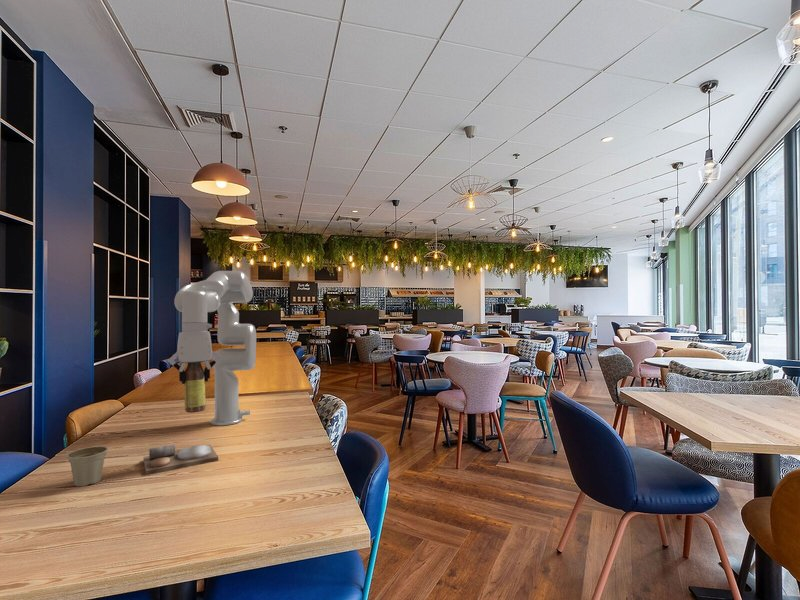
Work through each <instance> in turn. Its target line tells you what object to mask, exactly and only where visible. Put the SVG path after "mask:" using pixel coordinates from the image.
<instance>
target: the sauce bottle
mask: <svg viewBox="0 0 800 600" xmlns="http://www.w3.org/2000/svg"><path fill="white" fill-rule="evenodd" d="M184 371H185V383H184V384H183V386H184V389H183V390H184V391H183V392H184V408H185V409H184V411H185V412H186V413H188V414H189V413H191V414H192V413H200V412H203V411H205V409H206V404H207V402H206V381H205V373H204V369H203V366H202V362H192V363H187V366H186V367H185V369H184Z"/></svg>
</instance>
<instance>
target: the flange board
mask: <svg viewBox="0 0 800 600" xmlns="http://www.w3.org/2000/svg"><path fill="white" fill-rule="evenodd" d="M148 451H149V453H148V454H149V455H145V456H143V465H144V466H143V467H144V473H145V476H148V475H152V474H157V473H159V474H160V473H162V472H168V471H173V470H178V469H182V468H187V467H194V466H197V465H202V464H207V463H212V462H218V461H219V456H218V454H217V452H216V451H215V450H214V448H213V446H212V445H211V444H207V445H204V444H203V445H194V446H192V445H191V446H188V447H185V448H181V449H180V450H179V449H178V450H176V446H175V444H171V445H170V444H169V445H164V446H159V447H152V448H149V449H148Z"/></svg>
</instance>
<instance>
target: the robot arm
mask: <svg viewBox="0 0 800 600" xmlns="http://www.w3.org/2000/svg"><path fill="white" fill-rule="evenodd" d="M253 295H254V291H253V287H252V285H251V282H250V280H249V277H248V276H247V274H245V272H244V271H240V270H218V271H215V272H213V273H211V274H210V275H209V276H208V277H207V278H206V279H204V280H200V281H198V282H194V283H190V284H187V285H184V286H183V287H182V288H180V289H179V291H177V293H176V294H175V297H174V302H173V303H174V306H175V309H176V310H177V311H178V312H181V332H178V339H177V346H176V347H177V348H176V352H175V353H173V354H172V356H171V357H170V358H168V359H167V363H169V364H170V365H171V366H173V367H174V368H175V369H176V370H177V371H178V372H179V377H178V378H179V379H178V380H179V382H180V383H181V384H182V385H184V383H185V369H186V365H187V364H188V363H192V362H201V363H203V365H204V366H205V367H204V369H203V371H204V373H205V383H206V382H209V379H210V378H211V369H212V367H213V372H214V418H212V419H211V420H210V424H211V425H212V426H230V425H231V426H232V425H234V424H235V425H236V424H238V423H240V422H242V421H243V416H249V415H250V414H251V411H250V410H244V409H243V410H241V409H239V407H240V406H239V402H240V401H239V379H238V377H237V375H236V374H235V372H234V371H250V370H253V369H254V368H255V366H256V360H257V330H256V329H257V328H256V326H255V325H254V324H252V323H240V312H239V310H238V309H237V307H236V306H235V305H234V304H236V303H237V304H244V303H245V304H246V303H247V304H248V303H249V302H251V301H252V299H253ZM233 303H234V304H233ZM216 311H217V342H218V344H220V345H222V346H244V347H243V348H240V347H239V348H234V347H233V348H231V347H230V348H221V349H217V350H216V351H214V350H213V349H212V348H213V347H212V345H213V344H212V337H211V332H210V331H208V330H209V329H212V328H213V323H209V322H208V313H213V312H216ZM175 360H177V361H178V362H179V363H180V364H178V363H177V362H176V361H175Z"/></svg>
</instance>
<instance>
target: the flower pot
mask: <svg viewBox="0 0 800 600" xmlns="http://www.w3.org/2000/svg"><path fill="white" fill-rule="evenodd" d="M108 449H109V447H107V446H102V445H97V446H89V447H83V448H79V449H76V450H73V451H71V452H69V453H67V454H66V459H68V462H69V464H70V467H71V474H72V479H73V484H74V486H75V487H86V486H89V485H90V484H96V483H98V482H100V481H101V480H102V477H103V476H102V475H103V470H104V469H103V468H104V464H105V463H104V462H105V457H106V455H107V451H108Z"/></svg>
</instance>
